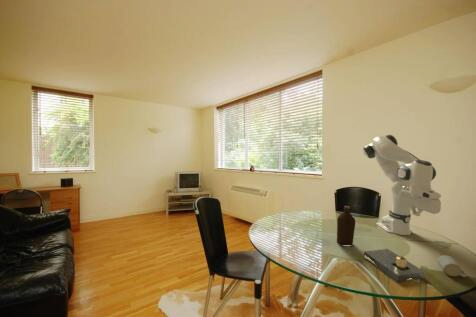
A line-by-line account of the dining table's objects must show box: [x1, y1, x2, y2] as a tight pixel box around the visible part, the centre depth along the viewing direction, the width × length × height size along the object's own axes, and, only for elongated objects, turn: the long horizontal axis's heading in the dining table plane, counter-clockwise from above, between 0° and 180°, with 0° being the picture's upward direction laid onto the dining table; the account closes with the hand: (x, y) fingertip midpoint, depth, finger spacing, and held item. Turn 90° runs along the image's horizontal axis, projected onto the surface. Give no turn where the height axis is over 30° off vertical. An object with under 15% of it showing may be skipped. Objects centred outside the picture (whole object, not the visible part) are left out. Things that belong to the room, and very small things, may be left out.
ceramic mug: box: [437, 255, 468, 278], centre depth 115 cm, size 11×8×8 cm
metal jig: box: [363, 248, 426, 283], centre depth 121 cm, size 22×16×4 cm
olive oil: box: [336, 205, 356, 246], centre depth 145 cm, size 11×11×25 cm
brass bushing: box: [395, 255, 408, 271], centre depth 116 cm, size 4×4×8 cm
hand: (415, 215), depth 122 cm, fingers closed
